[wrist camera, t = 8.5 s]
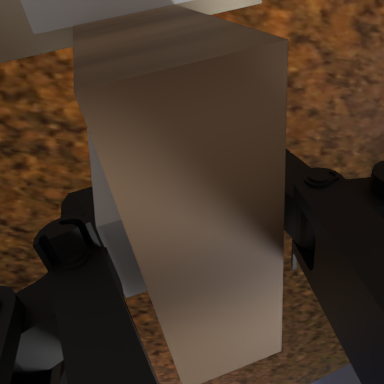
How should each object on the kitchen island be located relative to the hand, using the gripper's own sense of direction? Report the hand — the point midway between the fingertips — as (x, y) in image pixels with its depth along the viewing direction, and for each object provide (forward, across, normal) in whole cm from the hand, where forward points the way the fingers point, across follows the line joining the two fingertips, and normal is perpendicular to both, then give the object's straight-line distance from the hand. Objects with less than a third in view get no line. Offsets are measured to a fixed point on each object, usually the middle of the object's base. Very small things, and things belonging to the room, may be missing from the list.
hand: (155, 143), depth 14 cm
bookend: (0, 0, -4) cm, 4 cm away
